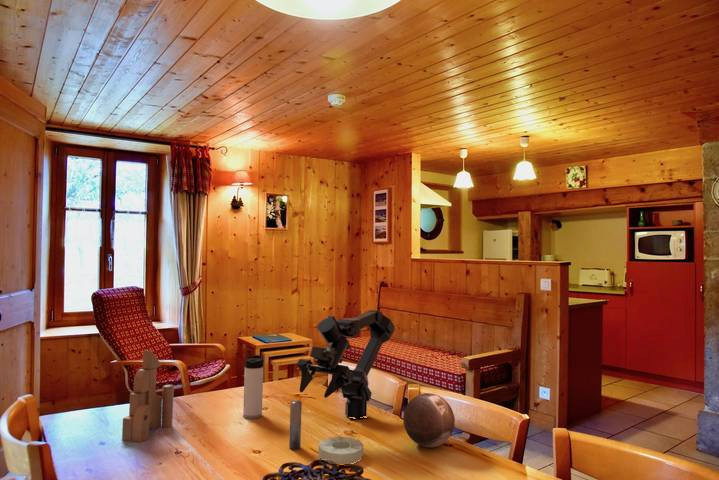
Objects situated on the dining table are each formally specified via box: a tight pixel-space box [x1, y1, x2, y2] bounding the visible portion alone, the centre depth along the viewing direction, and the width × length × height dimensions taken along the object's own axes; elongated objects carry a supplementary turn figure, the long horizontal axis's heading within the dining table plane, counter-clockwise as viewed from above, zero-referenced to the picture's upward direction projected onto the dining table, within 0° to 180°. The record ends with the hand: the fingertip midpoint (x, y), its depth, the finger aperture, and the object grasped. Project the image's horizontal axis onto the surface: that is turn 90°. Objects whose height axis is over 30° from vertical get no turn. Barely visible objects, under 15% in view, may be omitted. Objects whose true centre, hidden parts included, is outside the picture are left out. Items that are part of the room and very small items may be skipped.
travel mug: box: [242, 354, 264, 420], centre depth 165 cm, size 6×7×20 cm
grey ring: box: [318, 436, 365, 464], centre depth 133 cm, size 12×12×3 cm
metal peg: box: [288, 399, 303, 451], centre depth 138 cm, size 3×3×13 cm
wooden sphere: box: [402, 392, 456, 448], centre depth 143 cm, size 15×15×15 cm
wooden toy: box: [121, 349, 175, 443], centre depth 148 cm, size 16×7×25 cm, turn 166°
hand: (312, 394), depth 145 cm, fingers open, 9 cm apart
